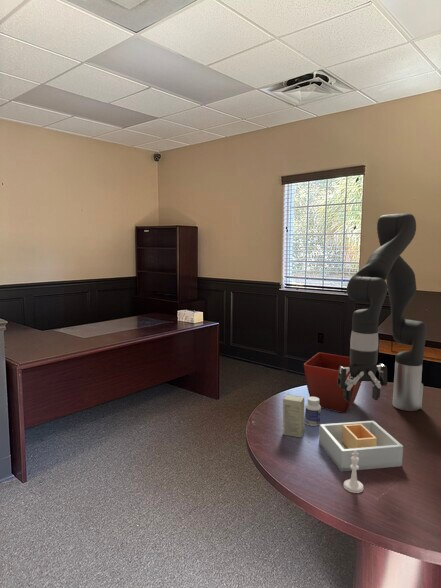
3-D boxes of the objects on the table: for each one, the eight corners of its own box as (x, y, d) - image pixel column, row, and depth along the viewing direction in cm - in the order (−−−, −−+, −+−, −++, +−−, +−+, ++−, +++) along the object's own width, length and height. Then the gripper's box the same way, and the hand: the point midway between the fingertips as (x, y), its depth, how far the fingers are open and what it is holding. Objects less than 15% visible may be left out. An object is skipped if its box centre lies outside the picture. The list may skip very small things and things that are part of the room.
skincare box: (304, 432, 135) (305, 397, 133) (301, 438, 131) (302, 402, 130) (285, 428, 138) (286, 393, 136) (281, 434, 134) (282, 398, 132)
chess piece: (340, 481, 108) (342, 446, 107) (358, 481, 109) (360, 445, 107) (347, 493, 104) (349, 456, 102) (366, 492, 104) (368, 455, 103)
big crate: (372, 438, 131) (373, 420, 131) (401, 466, 116) (403, 446, 115) (318, 442, 129) (319, 424, 128) (341, 471, 113) (342, 451, 112)
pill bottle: (320, 427, 139) (321, 402, 138) (304, 426, 140) (305, 401, 139) (320, 420, 144) (321, 396, 143) (304, 419, 145) (305, 395, 144)
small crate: (360, 442, 127) (361, 423, 126) (375, 457, 118) (376, 438, 117) (342, 443, 126) (343, 425, 125) (356, 459, 117) (357, 439, 116)
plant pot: (365, 400, 161) (367, 359, 158) (353, 419, 145) (355, 373, 142) (317, 391, 171) (318, 351, 168) (301, 407, 154) (302, 364, 152)
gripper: (380, 341, 122) (377, 393, 125) (334, 344, 120) (332, 396, 122) (394, 349, 115) (391, 404, 117) (346, 351, 113) (344, 407, 115)
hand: (361, 400), depth 120 cm, fingers open, 8 cm apart
